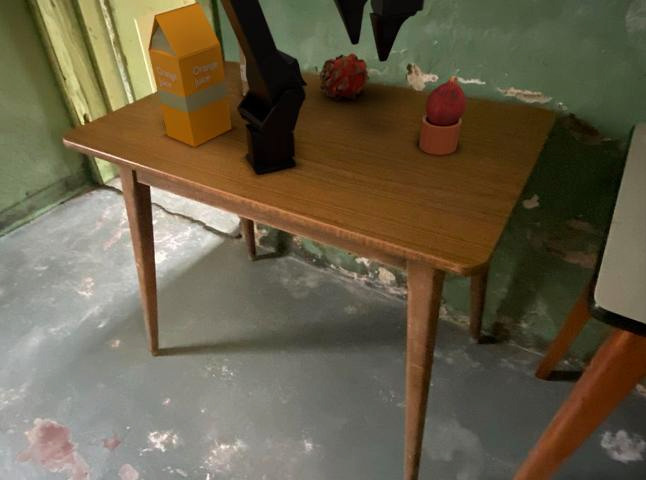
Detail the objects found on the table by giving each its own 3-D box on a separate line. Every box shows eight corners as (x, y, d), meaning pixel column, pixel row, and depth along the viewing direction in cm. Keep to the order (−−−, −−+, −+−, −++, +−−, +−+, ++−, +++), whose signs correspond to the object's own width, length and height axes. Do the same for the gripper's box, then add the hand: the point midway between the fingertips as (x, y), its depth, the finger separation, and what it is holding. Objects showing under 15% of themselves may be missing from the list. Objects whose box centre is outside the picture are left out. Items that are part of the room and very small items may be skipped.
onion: (458, 139, 74) (476, 86, 69) (420, 133, 75) (435, 80, 70) (456, 124, 78) (472, 73, 73) (419, 118, 79) (433, 67, 74)
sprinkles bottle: (242, 91, 101) (234, 20, 92) (264, 89, 101) (258, 18, 92) (243, 99, 97) (235, 27, 89) (265, 97, 98) (260, 24, 89)
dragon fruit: (318, 113, 94) (358, 103, 101) (348, 95, 88) (389, 85, 94) (302, 70, 93) (344, 62, 100) (331, 48, 86) (374, 42, 93)
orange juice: (232, 128, 88) (216, 4, 75) (194, 147, 83) (170, 18, 70) (203, 118, 92) (183, -1, 79) (166, 135, 87) (138, 11, 74)
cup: (431, 158, 76) (436, 130, 73) (412, 142, 80) (415, 116, 77) (463, 150, 77) (469, 123, 74) (442, 135, 81) (447, 109, 78)
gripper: (470, -71, 60) (449, 61, 70) (393, -83, 74) (385, 29, 84) (389, -60, 58) (379, 74, 68) (325, -75, 71) (325, 39, 81)
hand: (368, 52), depth 75 cm, fingers open, 9 cm apart
